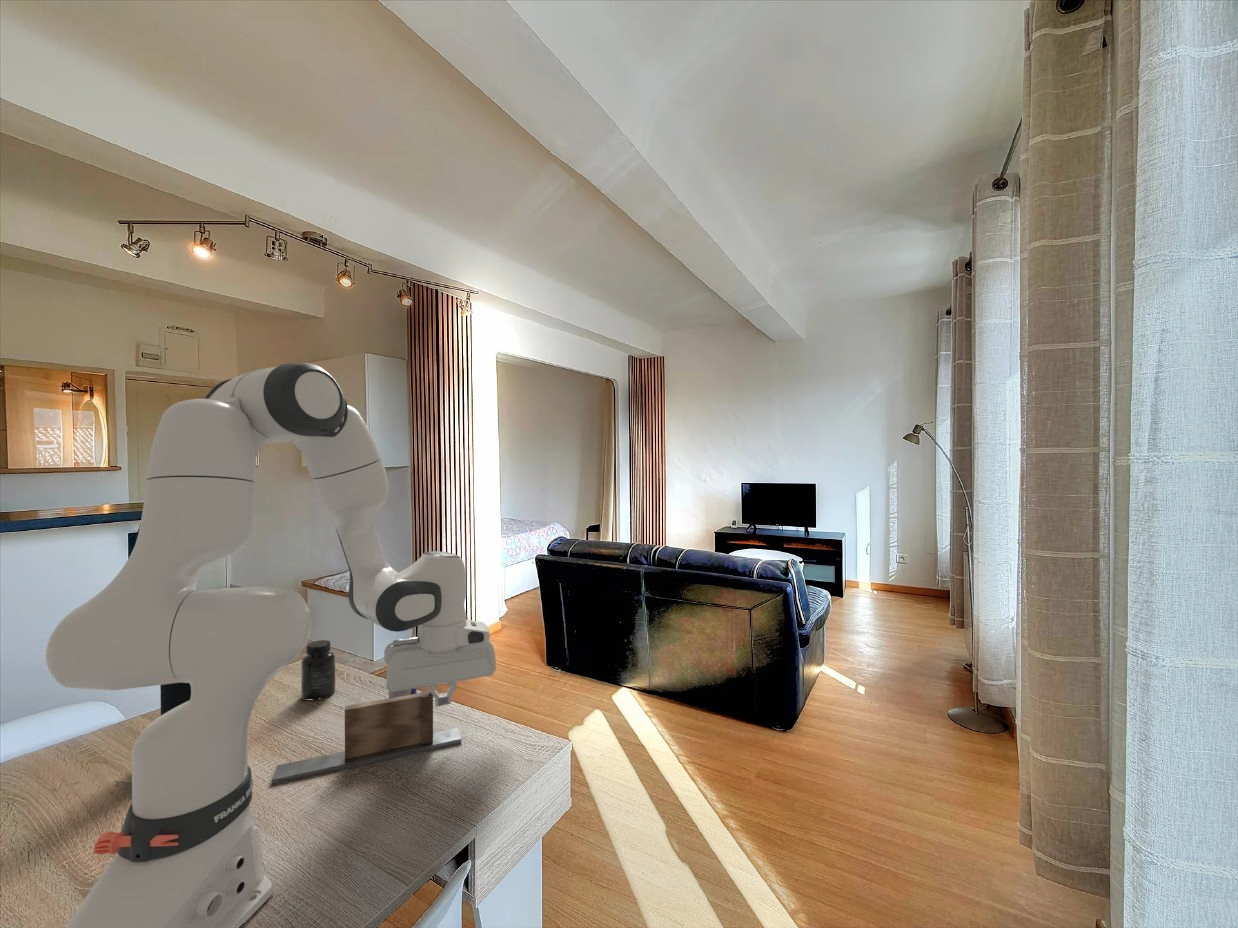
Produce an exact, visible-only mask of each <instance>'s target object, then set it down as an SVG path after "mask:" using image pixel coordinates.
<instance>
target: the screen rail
mask: <svg viewBox="0 0 1238 928" xmlns="http://www.w3.org/2000/svg"><path fill="white" fill-rule="evenodd" d="M461 736H462V735H461V732H460V727H454V728H450V729H446V730H440V731H436V732H433V743H428V744H423V745H422V743H419V744H414V745H409V746H405V747H400V748H395V749H391V750H386V751H381V752H377V753H372V754H367V755H363V756H358V757H353V758H349V759H345V750H344V751H340V752H335V753H331V754H330V753H329V754H324V755H319V756H314V757H311V758H310V757H309V758H306V759H301V760H296V761H290V762H286V763H282V764H278V765H276V767H275V770H274V773H273V775H272V778H271V786H274V785H278V784H282V783H287V782H292V781H297V780H302V779H305V778H311V777H315V776H319V775H320V776H321V775H324V774H328V773H333V772H337V771H342V770H346V769H351V768H352V769H353V768H355V767H356V768H357V767H360V766H361V767H362V766H365V765H369V764H373V763H379V762H383V761H388V760H392V759H396V758H401V757H405V756H406V757H407V756H410V755H416V754H418V753H423V752H428V751H433V750H437V749H441V748H442V749H443V748H446V747H451V746H455V745H459V744H460V745H461V744H462V737H461Z"/></svg>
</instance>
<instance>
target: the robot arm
mask: <svg viewBox="0 0 1238 928" xmlns="http://www.w3.org/2000/svg"><path fill="white" fill-rule="evenodd" d="M288 442H290V443H291V444H293V445H294V446H295V447H296V448H297V449H298V450H299V451H300V453H301V454H302V456H303V457H304V459H305V460H304V461H305V463H306V467H307V470H308V472H309V475H310V478H311V480H312V483H313V485H314V488H315V490H316V492H317V495H318V496H319V498H320V501H321V503H322V505H323V506H324V509H325V510H326V512H327V514H328V515H329V517H330V520H331V522H332V523H333V526H334V527H335V529H336V534H337V536H338V539H339V542H340V546H341V549H342V552H343V555H344V558H345V561H346V564H347V567H348V572H349V583H348V584H349V586H348V601H349V605H350V607H351V609H352V611H353V612H354V613H355V614H356V615H358V616H359V617H361V618H364V619H367V620H369V621H371V622H372V623H374V624H376V625H377V626H379V627H381V628H383V629H385V630H388V631H390V632H396V633H397V632H405V631H408V630H411V629H413V628H416V627H418V636H416V637H409V638H404V639H395V640H394V639H393V641H392V642H390V643H389V644H387V646H385V649H384V650H383V651H384V654H383V660H384V662H385V663H386V664H387V670H386V683H385V684H386V689H387V690H388V692H389V691H390V692H397V691H402V690H408V689H414V688H417V689H419V688H425V687H428V688H429V689H428V690H430V692H431V694H432V695H433V699H434V704H435V707H441V706H447V705H451V704H452V696H453V694H454V693H455V690H456V688H457V685H458V683H457V682H461V681H465V680H466V681H467V680H473V679H479V678H485V677H490V676H494V674H495V672H496V671H497V659H496V651H495V648H494V645H493V643H492V641H491V639H490V638H491V635H490V634H491V632H490V630H489V627H488V625H486V623H484V622H483V621H477V620H473V619H472V620H471V619H467V613H466V610H465V601H466V599H467V578H466V567H465V563H464V560H463V558H461V556H459V555H457V554H455V553H452V552H446V551H439V550H438V551H437V550H436V551H434V550H430V551H426V552H423V553H422V554H421V556H420V557H419V559H417V560H416V561H415V562H414V563H412V564H411V565H409V566H408V567H406V568H405V569H403V570H401V571H399V572H398V571H396V570H395V569H394V568H393V567H392V566H390V564H389V563H388V562H387V561H386V558H385V556H384V552H383V549H382V545H381V543H380V539H379V535H378V532H377V528H376V524H375V523H376V521H375V520H376V515H377V513H378V512H379V511H380V509H381V508H382V507H383V506H384V505H385V503H386V501H387V500H388V497H389V494H390V488H389V481H388V480H389V479H388V475H387V471H386V468H385V465H384V462H383V459H382V456H381V454H380V450H379V449H378V446H377V444H376V441H375V438H374V437H373V435H372V432H371V431H370V429H369V427H368V425H367V423H366V422H365V420H364V418H363V417H362V416H361V413H360V412H359V411H358V410H357V408H355V407H353V406H352V405H348V402H347V399H346V397H345V394H344V392H343V390H342V388H341V386H340V385H339V383H338V382H337V381H336V379H335V378H334V376H332V375H331V373H330V372H328V371H327V370H325V368H323V367H321V366H318V365H316V364H313V363H308V362H286V363H283V364H280V365H278V366H273V367H267V368H260V369H253V370H251V371H248V372H245V373H243V374H240V375H238V376H236V377H234V378H228V379H225V380H223V381H222V382H220V383H218V384H216V385H215V386H214V387H213V388H211V389H210V391H209V392H208V393H207V394H206V395H205V397H204V398H193V399H186V400H182V401H179V402H176V403H174V404H172V405H171V406H169V407H168V408H167V409H166V410H165V411H164V412H163V414H162V416H161V418H160V421H159V423H158V426H157V429H156V431H155V435H154V438H153V442H152V445H151V449H150V453H149V457H148V458H149V459H148V464H147V469H146V477H145V478H146V481H145V487H144V488H145V491H144V496H143V497H144V498H143V505H142V513H141V518H140V519H141V520H140V524H139V529H138V534H137V537H136V542H135V544H134V546H133V549H132V551H131V554H130V555H129V557H128V559H127V560H126V562H125V563H124V565H123V566H122V568H121V569H120V571H119V572H118V573H117V575H115V577H114V578H113V579H112V580H111V581H110V583H108V585H106V586H105V588H103V589H102V590H100V591H99V592H98V593H97V594H96V595H94V597H92V598H90V599H89V600H88V601H86V602H84V603H83V604H81V605H79V606H77V607H76V608H74V609H73V610H72V611H70V612H69V613H68V614H67V615H66V616H64V618H63V619H62V620H61V621H60V622H59V623H58V625H57V626H56V627H55V628H54V630H53V631H52V633H51V635H50V638H49V639H48V643H47V646H46V651H45V653H46V654H45V661H46V665H47V667H48V671H49V672H50V675H51V676H52V677H53V679H54V680H55V681H56V682H58V684H59V685H60V686H63V687H65V688H69V689H70V688H71V689H82V690H98V691H100V690H101V691H120V690H129V689H138V688H146V687H153V686H154V687H155V686H160V685H164V684H172V683H181V682H182V683H190V686H191V698H190V700H189V701H187V702H185V703H183V704H181V705H179V706H177V707H175V708H173V709H172V710H170V711H168V712H166V713H165V714H163V715H162V716H161V715H160V716H158V717H157V718H156V719H154V720H153V721H152V722H150V723H149V724H148V725H147V726H146V727H145V728H144V729H143V731H142V732H141V733H140V734H139V736H138V737H137V738H136V741H135V743H134V745H133V748H132V750H131V804H130V805H129V807H128V809H127V812H126V815H125V818H124V822H123V823H122V828H121V831H120V832H114V831H106V832H104V833H102V834H101V835H100V836H99V837H98V838H97V839H96V843H95V844H94V847H93V851H94V852H93V854H96V855H104V854H111V855H114V856H113V858H112V859H111V861H110V862H109V864H108V865H107V867H105V868H104V870H103V872H102V873H101V875H100V876H99V878H98V879H97V881H96V882H95V883H94V885H93V886H92V888H91V889H90V891H89V892H88V894H87V895H86V897H85V898H84V900H83V901H82V902H81V904H80V905H79V907H78V908H77V910H76V911H75V913H73V915H72V917H71V918H70V920H69V921H68V922H67V924H66V925H65V927H64V928H238V927H240V925H241V924H243V923H244V924H245V923H247V921H248V920H249V919H250V918H251V917H252V916H253V915H254V914H255V913H256V912H257V911H258V910H259V909H260V907H262V905H263V904H264V903H265V902H266V901H267V900H268V899H269V898H271V896H272V894H273V891H274V890H273V882H272V881H271V880H270V878H269V877H268V876H266V874H265V868H264V860H263V851H262V850H263V849H262V842H261V836H260V830H259V829H260V828H259V827H258V825H257V822H256V820H255V818H254V815H253V813H252V809H251V807H250V803H251V802H252V799H253V787H254V779H253V778H252V769H251V767H250V766H249V765H248V755H249V754H248V753H249V752H248V751H249V750H248V749H249V736H250V735H249V734H250V727H251V726H250V724H251V718H252V713H253V711H254V708H255V705H256V703H257V700H258V698H259V696H260V695H261V693H262V692H263V690H264V688H265V687H266V685H267V684H268V683H269V682H270V681H271V680H272V679H273V678H274V677H275V676H276V674H277V673H279V672H280V671H281V670H282V669H284V668H285V667H287V666H288V665H289V664H290V663H291V662H293V660H295V659H296V658H297V656H298V655H300V653H301V652H302V651H303V649H304V647H305V646H306V644H307V642H308V640H309V638H310V634H311V631H312V624H313V623H312V622H313V621H312V620H313V619H312V614H311V609H310V607H309V605H308V604H307V602H306V600H305V598H303V596H302V595H301V594H300V593H298V592H297V591H296V590H293V589H286V588H277V587H267V586H242V587H231V588H230V587H229V588H215V589H214V588H213V589H201V590H199V589H197V584H198V581H199V578H200V577H201V574H202V573H203V572H204V571H205V569H206V568H207V567H208V566H210V565H211V564H214V563H215V562H217V561H220V560H222V559H224V558H226V557H230V555H233V554H234V553H236V552H238V551H240V549H241V548H243V547H244V546H245V545H246V544H247V542H248V541H249V540H250V538H251V536H252V534H253V525H254V524H253V523H254V510H255V508H254V507H255V494H256V491H255V490H256V473H257V472H256V471H257V469H256V460H257V456H258V453H259V450H260V449H261V447H262V445H265V444H281V443H288ZM442 684H443V685H444V684H448V689H447V691H446V692H442V693H439V691H437V690H438V685H442ZM244 924H243V925H244ZM240 928H241V927H240Z"/></svg>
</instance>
